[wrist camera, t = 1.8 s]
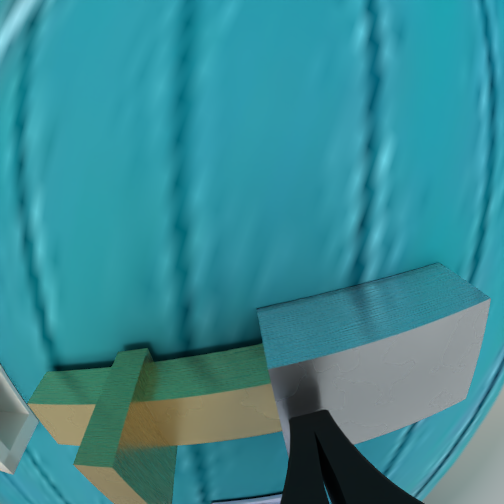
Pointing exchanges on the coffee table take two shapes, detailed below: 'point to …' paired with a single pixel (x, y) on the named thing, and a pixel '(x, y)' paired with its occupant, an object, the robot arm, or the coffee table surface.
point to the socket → (13, 425)
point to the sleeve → (375, 351)
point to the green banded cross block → (154, 415)
